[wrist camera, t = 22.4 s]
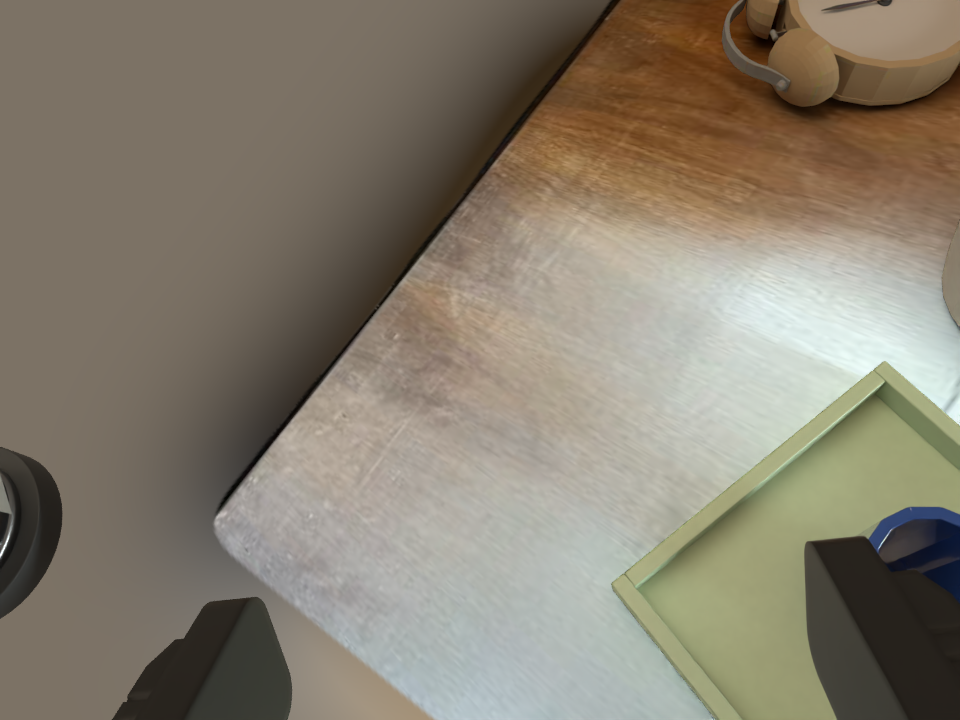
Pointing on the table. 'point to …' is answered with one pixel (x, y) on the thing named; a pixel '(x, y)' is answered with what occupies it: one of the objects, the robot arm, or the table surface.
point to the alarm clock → (852, 48)
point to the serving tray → (787, 547)
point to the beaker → (921, 544)
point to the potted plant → (953, 277)
